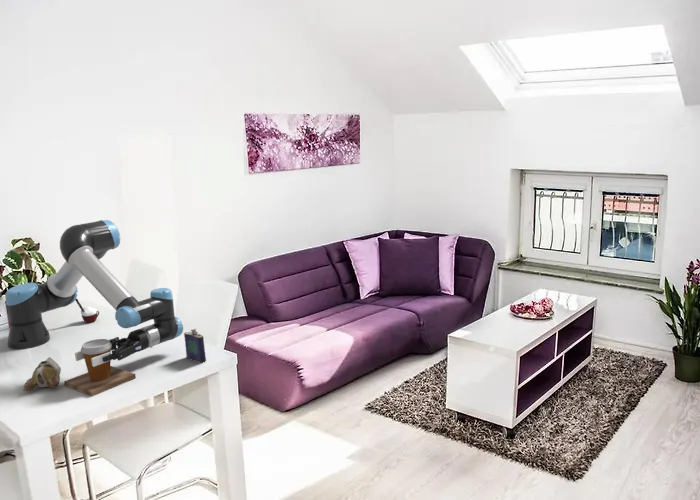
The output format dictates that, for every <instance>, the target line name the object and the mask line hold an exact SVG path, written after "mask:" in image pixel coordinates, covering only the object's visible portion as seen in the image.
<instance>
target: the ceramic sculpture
mask: <svg viewBox="0 0 700 500" xmlns="http://www.w3.org/2000/svg"><path fill="white" fill-rule="evenodd" d="M61 372H62V367H61V366H60V365H59V363H58V362H56V361H55V360H54V359H52V357H48V358H47V359H45V360H44V361H41V362H39V363H38V365H37V366H36V367H35V369H34V370H33V372H32V376H31V378H28V379H27V380H26V382H25V383H24V385H23V386H24V387H23V392H28V391H33V390H34V389H35V388H36V387H38V388H47V387H50V388H56V387H58V385H59V384H60V381H61V376H60V375H61Z"/></svg>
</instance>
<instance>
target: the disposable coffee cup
mask: <svg viewBox="0 0 700 500" xmlns="http://www.w3.org/2000/svg"><path fill="white" fill-rule="evenodd" d="M109 340H110V339H106V338H97V339H92V340H88V341H86V342H83V343H82V345H81V348H80V351H82V353H83V355H84V359H83V360H84V363H85V366H86V370H87V373H89V377H90V380H91V381H102V380H105V379H107V378H109V377H110V366H111V361H108V362H105V363H103V364H100V365H97V366H94V367H93V366H92V360H91V358H94V357H97V356H99V355H102V354H105V353H108V352H111V353H112V351H111V346H112V344H111V343H110V341H109Z"/></svg>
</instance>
